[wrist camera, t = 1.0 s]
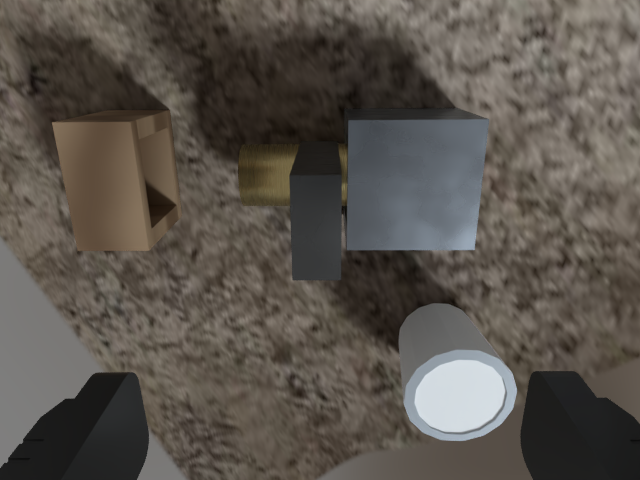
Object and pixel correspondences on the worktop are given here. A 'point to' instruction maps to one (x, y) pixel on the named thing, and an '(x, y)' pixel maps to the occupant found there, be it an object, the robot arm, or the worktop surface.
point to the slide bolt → (301, 198)
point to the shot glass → (452, 375)
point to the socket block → (119, 178)
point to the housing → (413, 178)
